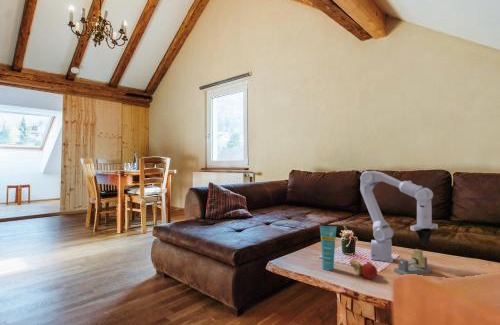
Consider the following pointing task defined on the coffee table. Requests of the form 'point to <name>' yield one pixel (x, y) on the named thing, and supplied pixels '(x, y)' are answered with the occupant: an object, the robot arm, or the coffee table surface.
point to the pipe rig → (411, 267)
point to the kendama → (364, 269)
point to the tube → (328, 246)
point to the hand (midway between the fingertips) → (424, 245)
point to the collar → (418, 255)
